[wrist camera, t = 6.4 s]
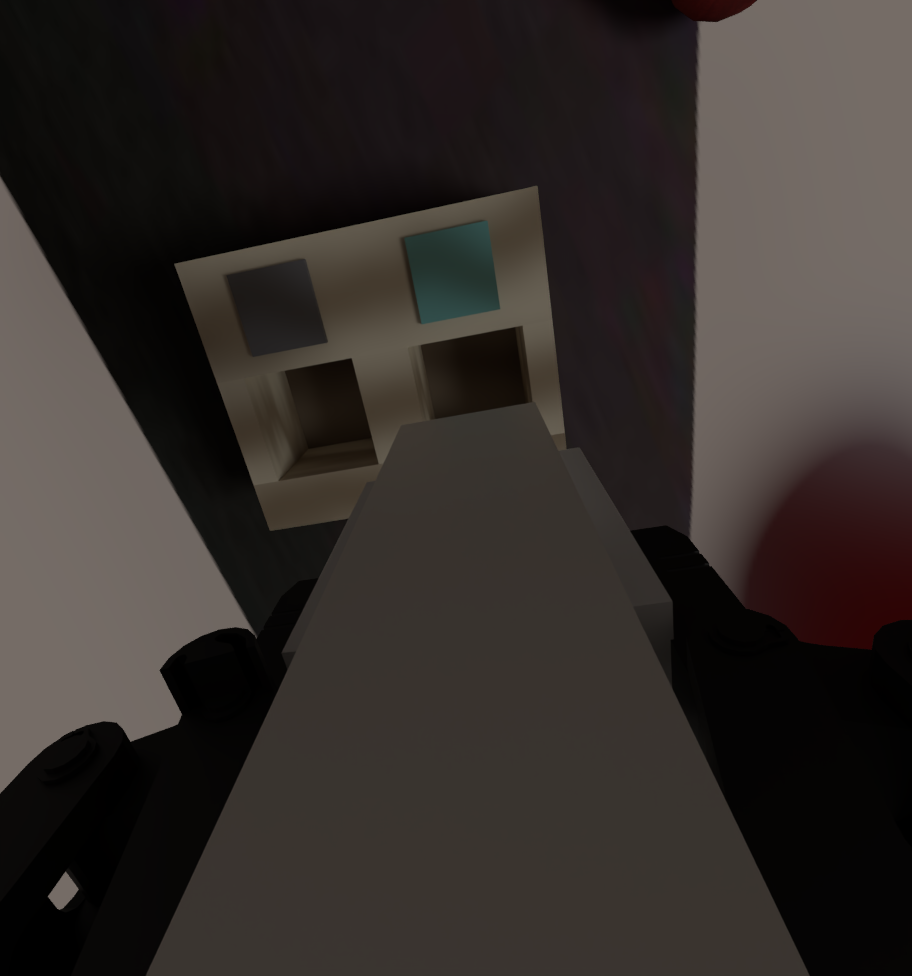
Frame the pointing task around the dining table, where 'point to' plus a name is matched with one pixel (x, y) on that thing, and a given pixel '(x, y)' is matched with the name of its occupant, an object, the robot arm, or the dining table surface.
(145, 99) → the dining table surface
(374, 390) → the socket board
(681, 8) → the onion
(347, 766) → the plug
